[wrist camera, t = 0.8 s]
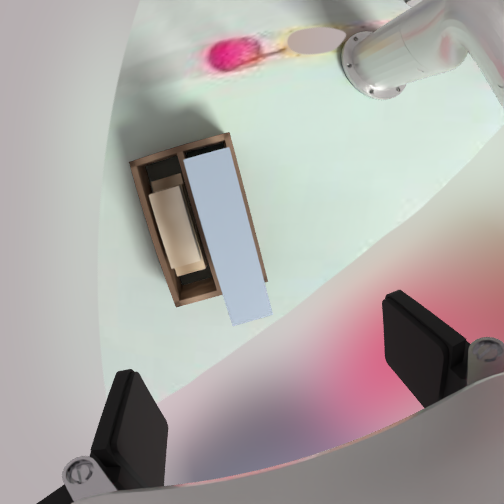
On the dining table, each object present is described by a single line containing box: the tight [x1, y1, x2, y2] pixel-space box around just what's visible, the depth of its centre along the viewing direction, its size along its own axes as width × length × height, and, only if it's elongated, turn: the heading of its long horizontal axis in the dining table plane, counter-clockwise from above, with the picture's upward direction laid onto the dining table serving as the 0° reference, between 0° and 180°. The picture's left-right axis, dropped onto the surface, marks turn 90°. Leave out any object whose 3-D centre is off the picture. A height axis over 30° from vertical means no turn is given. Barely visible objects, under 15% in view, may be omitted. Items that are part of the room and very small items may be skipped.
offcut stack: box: [149, 173, 208, 277], centre depth 43 cm, size 4×14×8 cm, turn 14°
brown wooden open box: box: [129, 132, 268, 307], centre depth 44 cm, size 13×21×6 cm, turn 14°
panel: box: [183, 147, 273, 326], centre depth 38 cm, size 4×16×20 cm, turn 14°
